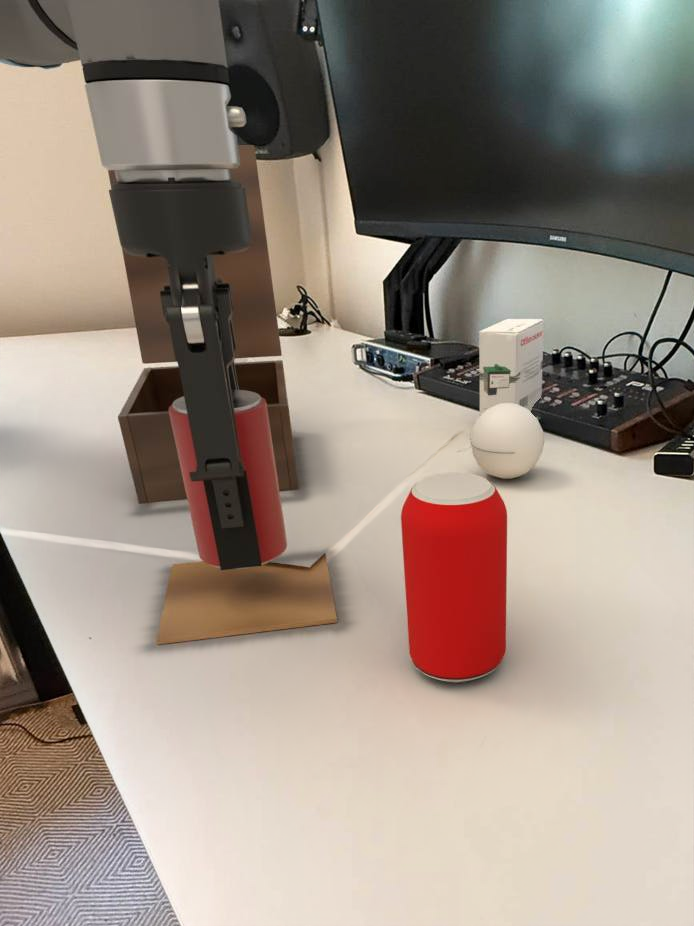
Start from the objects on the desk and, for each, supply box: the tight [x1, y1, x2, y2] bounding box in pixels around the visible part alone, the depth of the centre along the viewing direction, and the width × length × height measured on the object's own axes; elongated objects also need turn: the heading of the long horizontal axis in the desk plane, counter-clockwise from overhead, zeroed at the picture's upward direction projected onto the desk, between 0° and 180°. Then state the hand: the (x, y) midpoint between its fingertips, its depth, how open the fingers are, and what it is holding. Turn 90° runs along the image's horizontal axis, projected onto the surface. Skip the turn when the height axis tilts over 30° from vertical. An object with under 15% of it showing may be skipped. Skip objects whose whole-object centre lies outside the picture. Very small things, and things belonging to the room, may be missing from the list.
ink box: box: [478, 318, 545, 421], centre depth 93 cm, size 9×5×12 cm, turn 156°
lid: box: [107, 144, 283, 365], centre depth 84 cm, size 20×15×1 cm
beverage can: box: [400, 472, 508, 683], centre depth 48 cm, size 6×6×12 cm
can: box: [169, 390, 288, 569], centre depth 55 cm, size 6×6×11 cm
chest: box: [117, 359, 300, 505], centre depth 81 cm, size 20×15×9 cm
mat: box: [156, 552, 338, 645], centre depth 60 cm, size 12×12×1 cm
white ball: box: [455, 403, 545, 480], centre depth 79 cm, size 10×7×7 cm
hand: (242, 545), depth 58 cm, fingers closed on can, 6 cm apart
